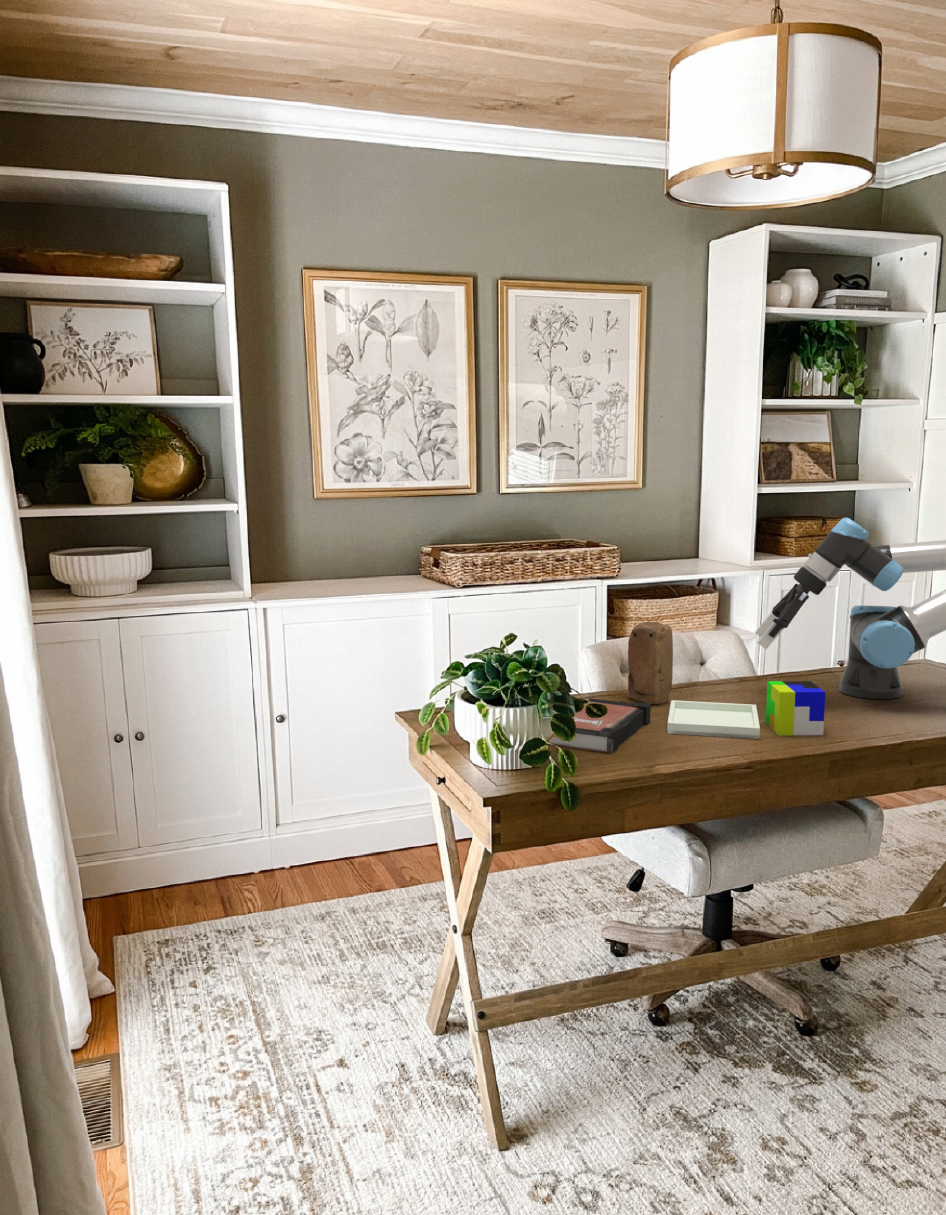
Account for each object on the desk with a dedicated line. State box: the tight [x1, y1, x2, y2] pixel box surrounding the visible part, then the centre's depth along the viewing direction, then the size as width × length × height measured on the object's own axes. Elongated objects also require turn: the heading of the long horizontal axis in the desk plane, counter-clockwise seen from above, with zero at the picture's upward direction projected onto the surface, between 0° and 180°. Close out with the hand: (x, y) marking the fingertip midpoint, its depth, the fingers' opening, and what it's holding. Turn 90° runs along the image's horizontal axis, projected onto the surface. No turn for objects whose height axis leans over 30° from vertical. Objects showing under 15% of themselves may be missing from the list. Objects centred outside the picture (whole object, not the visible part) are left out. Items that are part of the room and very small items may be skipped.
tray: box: [666, 699, 761, 740], centre depth 221 cm, size 20×20×2 cm
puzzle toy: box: [765, 680, 826, 736], centre depth 217 cm, size 10×10×10 cm
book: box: [549, 697, 652, 754], centre depth 216 cm, size 26×18×5 cm
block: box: [627, 621, 674, 705], centre depth 241 cm, size 11×8×20 cm
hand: (760, 640), depth 240 cm, fingers open, 13 cm apart
